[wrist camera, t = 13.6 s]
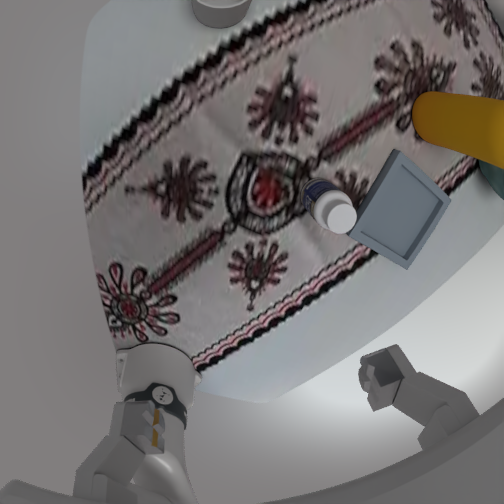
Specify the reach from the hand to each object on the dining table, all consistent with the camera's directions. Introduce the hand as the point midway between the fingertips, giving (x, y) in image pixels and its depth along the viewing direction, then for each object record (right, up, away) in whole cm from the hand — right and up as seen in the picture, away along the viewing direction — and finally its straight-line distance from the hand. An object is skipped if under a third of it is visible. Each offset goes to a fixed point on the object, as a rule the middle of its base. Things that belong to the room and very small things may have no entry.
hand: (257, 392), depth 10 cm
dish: (+25, +12, +36) cm, 45 cm away
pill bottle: (+9, +14, +33) cm, 37 cm away
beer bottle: (+30, +28, +28) cm, 49 cm away
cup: (-5, +38, +18) cm, 43 cm away
